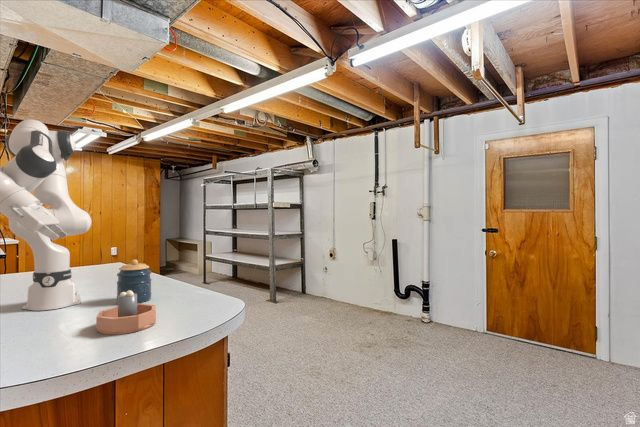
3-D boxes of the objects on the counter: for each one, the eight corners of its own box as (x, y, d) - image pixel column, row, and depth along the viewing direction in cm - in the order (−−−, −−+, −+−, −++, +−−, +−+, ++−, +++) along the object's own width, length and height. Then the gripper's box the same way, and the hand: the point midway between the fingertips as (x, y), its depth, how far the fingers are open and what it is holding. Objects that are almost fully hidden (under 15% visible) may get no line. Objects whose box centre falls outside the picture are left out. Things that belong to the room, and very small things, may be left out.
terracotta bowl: (101, 322, 112) (102, 307, 112) (155, 315, 120) (155, 301, 120) (93, 338, 98) (93, 321, 98) (155, 329, 105) (155, 313, 105)
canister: (150, 295, 150) (150, 256, 150) (152, 302, 139) (152, 260, 139) (116, 299, 143) (117, 258, 143) (116, 306, 132) (116, 262, 132)
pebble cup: (118, 321, 110) (118, 290, 110) (137, 319, 112) (137, 288, 112) (116, 326, 105) (117, 293, 105) (136, 324, 107) (136, 292, 108)
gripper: (17, 197, 91) (61, 232, 95) (40, 200, 109) (76, 229, 113) (-5, 213, 89) (41, 248, 93) (23, 213, 107) (60, 242, 111)
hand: (61, 237), depth 103 cm, fingers open, 8 cm apart
